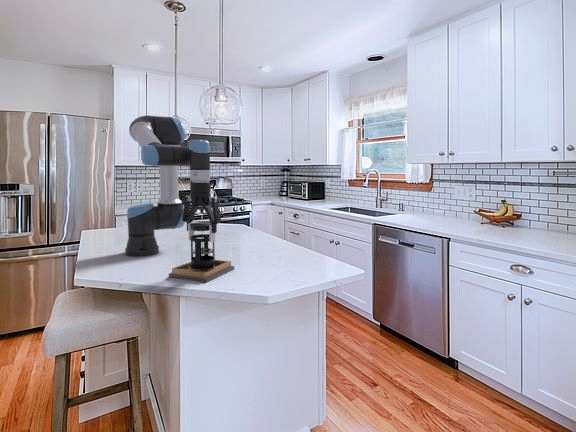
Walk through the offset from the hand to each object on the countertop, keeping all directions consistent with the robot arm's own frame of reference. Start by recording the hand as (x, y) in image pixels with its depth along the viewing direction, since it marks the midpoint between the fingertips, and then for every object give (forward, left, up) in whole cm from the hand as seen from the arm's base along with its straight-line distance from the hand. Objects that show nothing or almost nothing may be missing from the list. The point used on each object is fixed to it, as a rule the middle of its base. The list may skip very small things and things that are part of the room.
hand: (201, 240), depth 137 cm
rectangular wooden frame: (0, 0, -13) cm, 13 cm away
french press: (0, 0, -11) cm, 11 cm away
